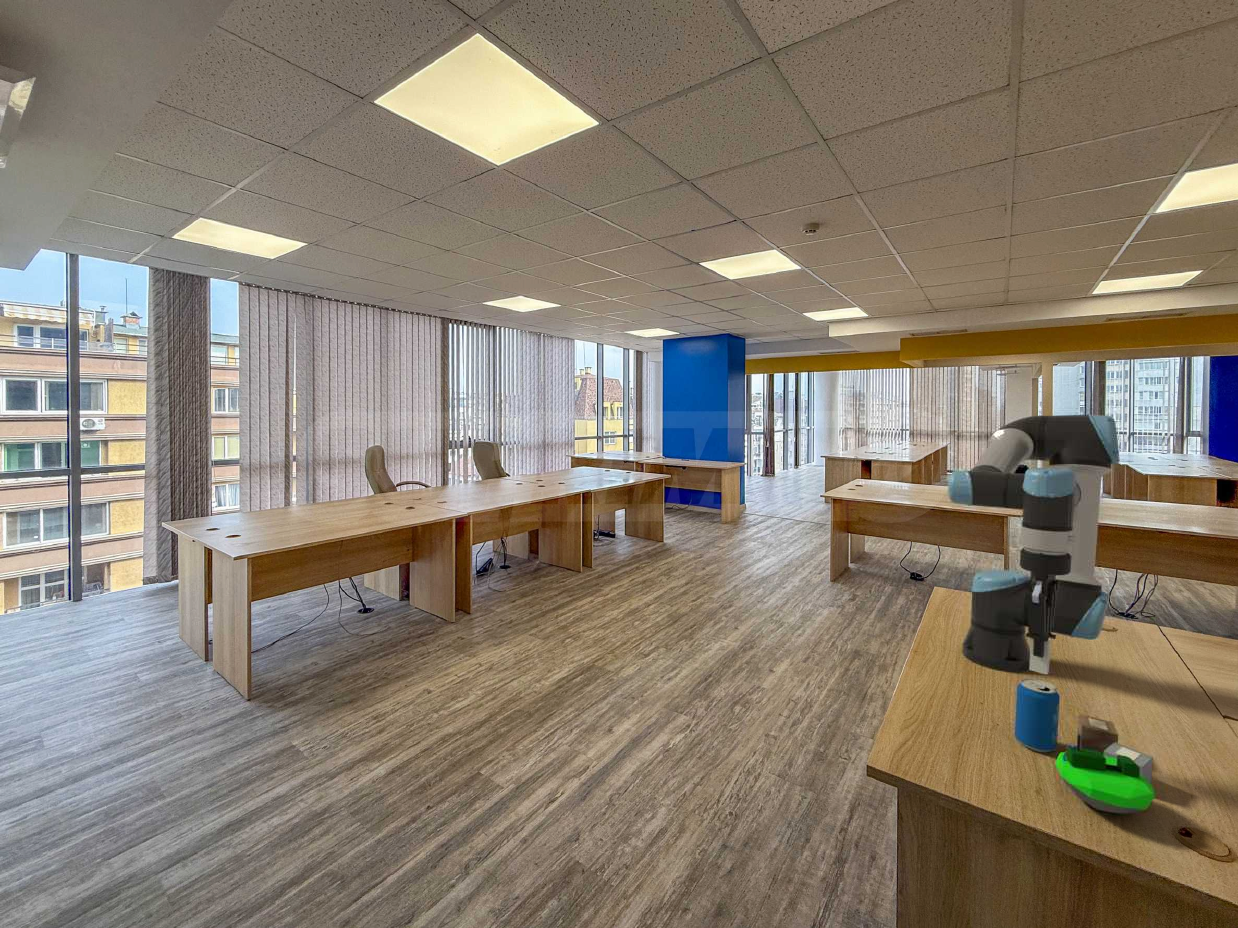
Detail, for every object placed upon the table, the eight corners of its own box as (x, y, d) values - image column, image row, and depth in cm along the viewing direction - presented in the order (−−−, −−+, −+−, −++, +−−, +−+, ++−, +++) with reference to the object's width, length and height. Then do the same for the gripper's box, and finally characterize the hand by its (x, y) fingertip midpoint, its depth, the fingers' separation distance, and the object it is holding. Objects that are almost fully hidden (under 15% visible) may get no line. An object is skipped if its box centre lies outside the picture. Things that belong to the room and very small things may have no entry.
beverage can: (1046, 758, 99) (1049, 696, 98) (1007, 740, 105) (1010, 681, 104) (1063, 748, 102) (1066, 688, 101) (1025, 731, 108) (1028, 674, 107)
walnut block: (1080, 751, 101) (1082, 725, 101) (1077, 738, 105) (1078, 713, 105) (1116, 760, 98) (1118, 734, 98) (1111, 746, 102) (1113, 721, 102)
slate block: (1102, 777, 94) (1103, 750, 93) (1113, 768, 96) (1114, 741, 96) (1140, 794, 89) (1142, 766, 89) (1150, 784, 92) (1152, 756, 91)
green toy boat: (1073, 820, 84) (1077, 755, 83) (1044, 773, 95) (1047, 714, 94) (1172, 840, 80) (1177, 771, 79) (1130, 788, 91) (1134, 727, 89)
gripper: (1063, 559, 93) (1056, 689, 95) (1078, 548, 101) (1071, 667, 103) (1011, 552, 99) (1005, 674, 101) (1029, 541, 107) (1023, 654, 109)
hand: (1038, 670), depth 102 cm, fingers closed
